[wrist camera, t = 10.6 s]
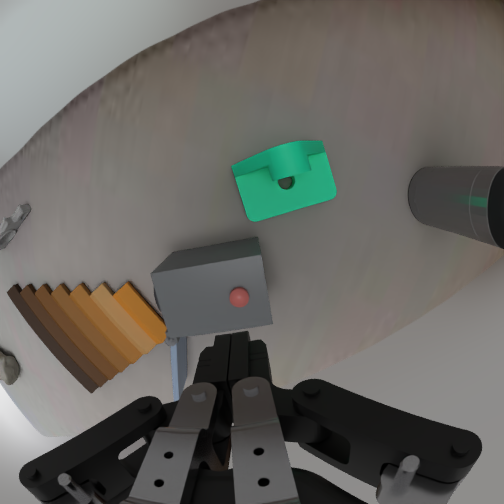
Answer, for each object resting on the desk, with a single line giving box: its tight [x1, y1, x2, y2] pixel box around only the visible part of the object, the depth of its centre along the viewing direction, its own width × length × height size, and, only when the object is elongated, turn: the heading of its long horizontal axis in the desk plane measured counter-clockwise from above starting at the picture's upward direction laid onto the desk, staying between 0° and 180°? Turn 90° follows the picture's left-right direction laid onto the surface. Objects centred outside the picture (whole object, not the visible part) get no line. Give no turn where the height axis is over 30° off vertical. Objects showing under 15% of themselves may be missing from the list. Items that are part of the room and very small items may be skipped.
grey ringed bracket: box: [0, 204, 31, 250], centre depth 35 cm, size 12×2×6 cm, turn 125°
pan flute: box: [7, 281, 167, 393], centre depth 40 cm, size 25×3×25 cm
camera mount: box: [231, 141, 337, 222], centre depth 33 cm, size 12×8×10 cm, turn 107°
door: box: [171, 337, 187, 402], centre depth 39 cm, size 12×2×7 cm, turn 175°
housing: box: [151, 237, 273, 346], centre depth 35 cm, size 13×10×11 cm
